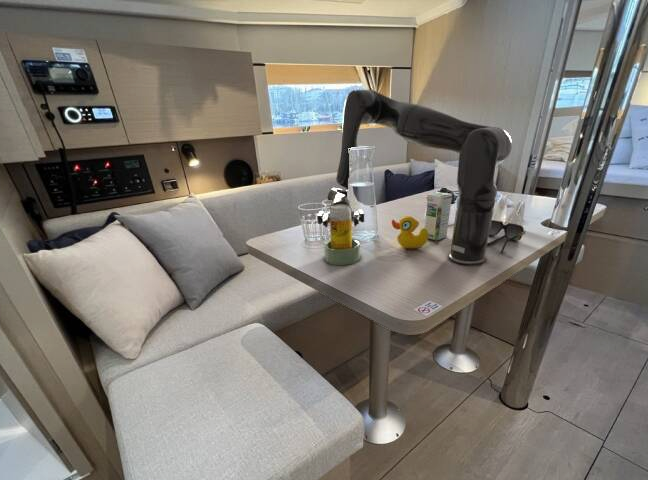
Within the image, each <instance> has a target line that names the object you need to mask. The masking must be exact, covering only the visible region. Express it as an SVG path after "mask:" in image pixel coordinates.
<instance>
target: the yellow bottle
mask: <svg viewBox="0 0 648 480" xmlns="http://www.w3.org/2000/svg"><path fill="white" fill-rule="evenodd" d="M328 212H330V223H329V225H330V229H329V230H330V241H331V246H332V249H334V250H346V249H351V248H352V240H353V238H352V237H353V236H352V235H353V234H352V233H353V231H352V223H351V209H350V207H349V205H344V204H340V205H333V206H331V209H330V208H329V211H328Z"/></svg>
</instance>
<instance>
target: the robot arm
mask: <svg viewBox="0 0 648 480" xmlns="http://www.w3.org/2000/svg"><path fill="white" fill-rule="evenodd" d="M371 124H372V125H373V124H374V125H379V126H383V127H387V128H389V129H390V130H392V131H393V132H394V133H395V134H396V136H397V137H398V138H400V139H402V140H403V141H405V142H408V143H411V144H414V145H416V146H420V147H423V148H427V149H435V150H442V151H444V150H445V151H449V152H454V153H457V154H459V155H458V165H457V175H456V177H457V178H456V185H457V190H458V191H457V192H458V193H457V200H456V208H455V209H456V210H455V214H454V215H455V216H454V224H453V230H452V236H451V245H450V252H449V257H448V258H449V260H451V261H452V262H454V263H456V264H460V265H469V266H471V265H479V264H482V263H484V262H485V258H486V256H485V255H486V253H487V247H488V246H491V245H493V244H495V243H497V242H498V241H501V240H503V239H505V238H506V236H505V234H504V235H501V236H500V237H498V238H495V239H494V240H492V241H490V242H488V241H489V236H490V235H489V232H490V226H491V221H492V216H493V211H494V207H495V205H496V200H497V195H498V186H497V185H496V184H495V173H496V167H497V166H499V165H500V164H501V163H503V162H504V161H505V160H507V159H508V157H509V156H510V154H511V151H512V147H513V143H512V139H511V136H510V135H509V133H508V132H507V131H506V130H505V129H504V128H501V127H497V126H489V125H483V124H476V123H472V122H468V121H464V120H462V119H459V118H457V117H455V116H452V115H449V114H447V113H444V112H441V111H440V110H436V109H433V108H431V107H427V106H424V105H420V104H416V103H412V102H408V101H407V102H406V101H399V100H396V99H393V98H391V97H388V96H387V95H385V94H383V93H381V92H378V91H377V90H373V89H353V90H351V91H350V92H348V94H347V95H346V97H345V101H344V106H343V116H342V132H341V133H342V134H341V151H340V158H339V162H338V163H339V164H338V168H337V173H336V179H335V181H336V183H337V184H338V185H339V186H341V187H343V188H345V189H342V188H338V187H333V188H331V189H330V190H329V191H328V193H327V197H326V198H327V201H328V200H332V203H331V206H333V205H340V204H344V205H349V207H350V209H351V224H352V223H353V226H354V227H357V225H360V223H365V211H364V209H361V208H360V209H358V210H357V211H354V210H353V208H352V205H351V203H350V201H349V200H348V199H347V191H348V190H347V189H348V178H349V153H348V148H351V147H357V148H358V134H359V131H360V128H361V125H371ZM349 150H350V149H349ZM331 206H329V210H330V209H331ZM352 210H353V211H352ZM317 224H318V225H322V226H324V228H328V227H329V224H330V212H329V211H328V212H327V213H325V212H324V211H323V210H320V211H319V212H318V214H317Z"/></svg>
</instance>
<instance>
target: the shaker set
mask: <svg viewBox="0 0 648 480" xmlns="http://www.w3.org/2000/svg"><path fill="white" fill-rule="evenodd" d="M508 202H509V195H508V194H505V195H504V194H502V195H501V196H500V197H499V199H497V202H496V203H495V205H494V211H493V216H492V220H495V221H502V222H507V223H503V225H507V224H508V223H513V224H517V225H520V226H522V227H523V225H524V224H523V223H524V217H525V209H526V208H525V206H526V201H522V203H521V200H519V201H518V202H517V203H516V205H515V206H514V207H513V209H512V211H511V212H510V214H509V215H508V217H507V214H508V213H507V212H508Z"/></svg>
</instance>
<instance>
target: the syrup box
mask: <svg viewBox="0 0 648 480" xmlns="http://www.w3.org/2000/svg"><path fill="white" fill-rule="evenodd" d="M426 198H427V199H426V208H425V219H424V220H425V221H424V228H425V229H426V230H427V231H428V239H430V240H432V241H433V240H434V241H440V240H443V239H444V238H447V236H448V229H449V222H450V221H449V220H450V214H451V205H452V200H453V199H452V198H453V193H446V192H440V191H439V192H438V191H436V192H431V193H427V196H426Z"/></svg>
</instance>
